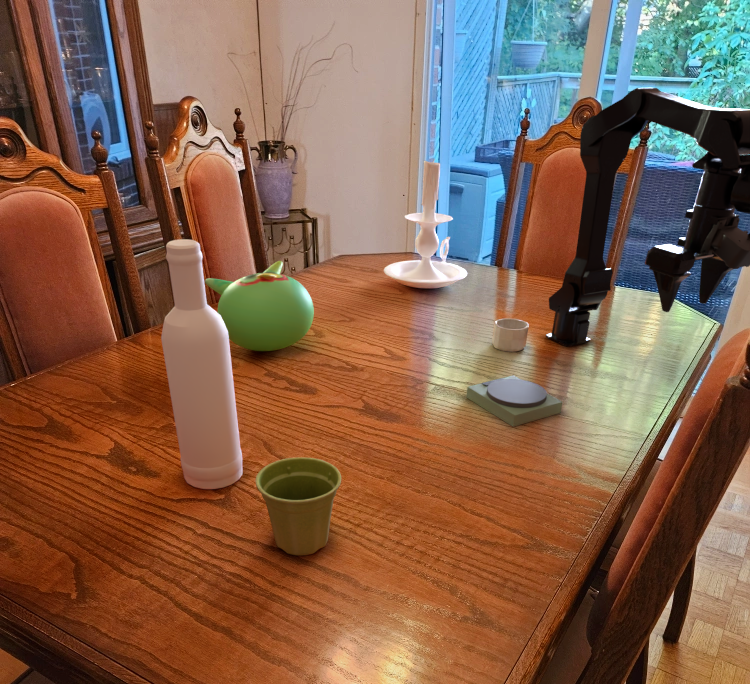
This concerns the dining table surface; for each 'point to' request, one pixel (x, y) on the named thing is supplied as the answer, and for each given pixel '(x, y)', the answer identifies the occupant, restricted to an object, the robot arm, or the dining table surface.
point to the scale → (514, 400)
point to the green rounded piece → (264, 309)
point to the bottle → (200, 375)
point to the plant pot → (299, 501)
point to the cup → (510, 334)
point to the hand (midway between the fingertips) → (684, 307)
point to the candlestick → (427, 242)
